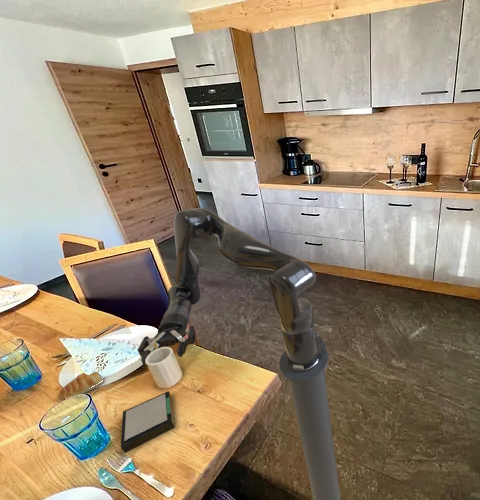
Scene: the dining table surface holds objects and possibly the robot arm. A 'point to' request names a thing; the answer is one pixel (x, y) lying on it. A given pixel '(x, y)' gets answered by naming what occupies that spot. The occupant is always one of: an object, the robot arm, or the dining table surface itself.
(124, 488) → the dining table surface
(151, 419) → the scale
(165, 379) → the cup
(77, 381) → the pastry
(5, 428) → the dining table surface
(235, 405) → the dining table surface
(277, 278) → the robot arm
